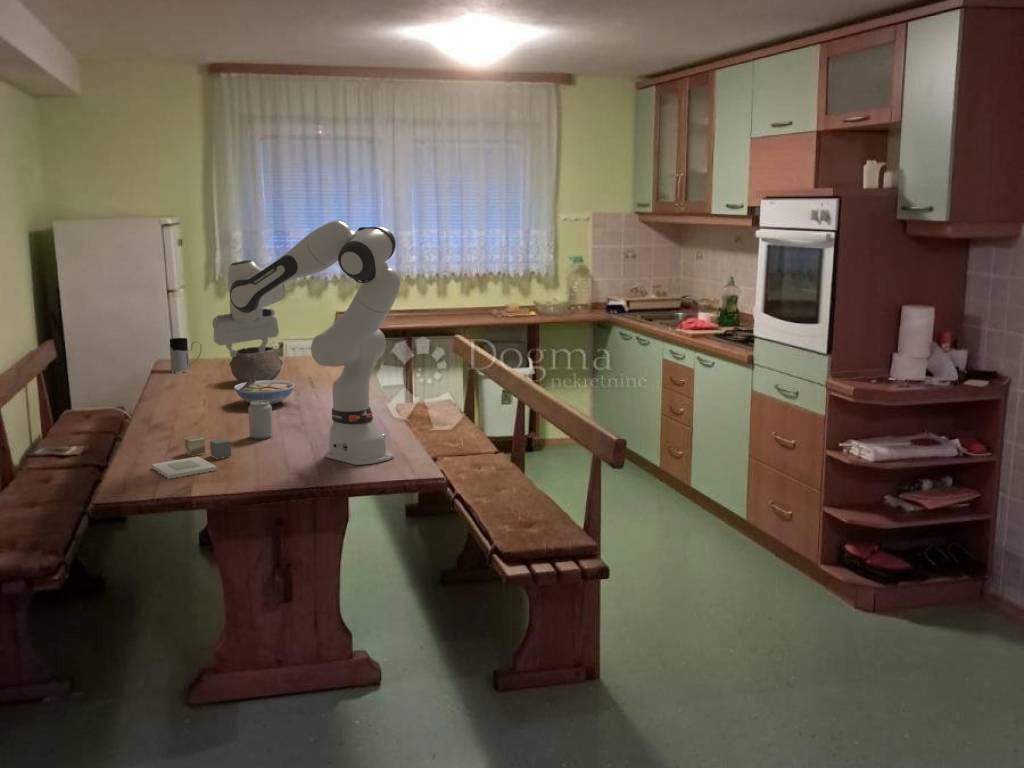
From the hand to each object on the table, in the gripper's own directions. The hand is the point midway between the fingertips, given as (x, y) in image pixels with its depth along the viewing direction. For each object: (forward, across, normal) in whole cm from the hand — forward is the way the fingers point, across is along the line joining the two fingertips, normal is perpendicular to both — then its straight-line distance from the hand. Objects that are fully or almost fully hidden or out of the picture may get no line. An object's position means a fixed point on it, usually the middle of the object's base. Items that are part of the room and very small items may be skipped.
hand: (247, 354), depth 302 cm
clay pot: (+43, +38, +92) cm, 108 cm away
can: (+30, +4, +3) cm, 31 cm away
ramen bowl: (+37, +24, +51) cm, 68 cm away
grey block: (+27, -15, -12) cm, 34 cm away
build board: (+26, -29, -20) cm, 43 cm away
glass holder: (+47, +22, +138) cm, 148 cm away
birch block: (+28, -21, -5) cm, 35 cm away
